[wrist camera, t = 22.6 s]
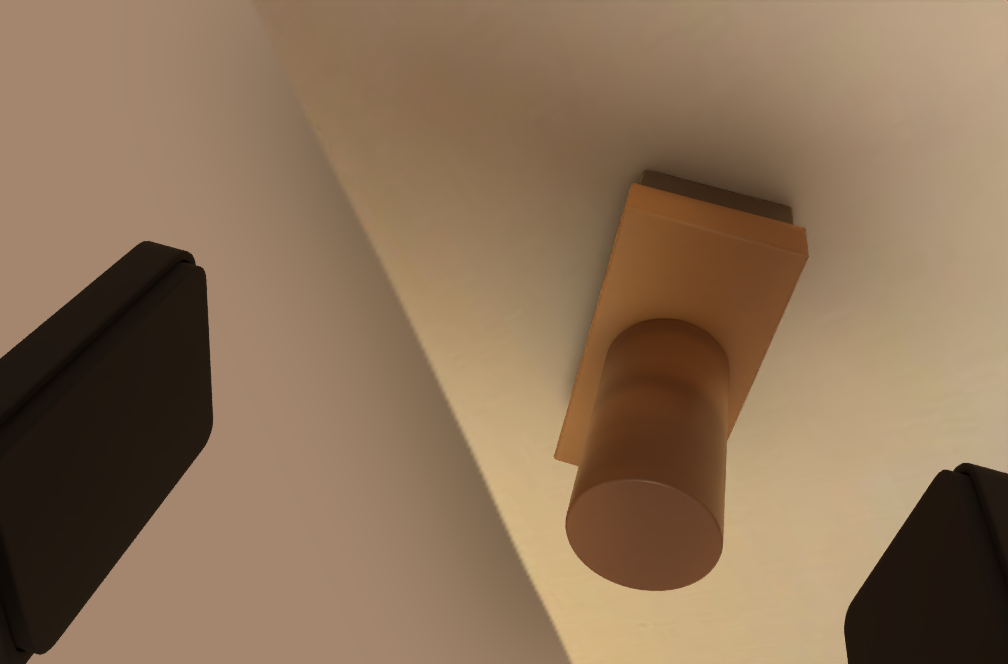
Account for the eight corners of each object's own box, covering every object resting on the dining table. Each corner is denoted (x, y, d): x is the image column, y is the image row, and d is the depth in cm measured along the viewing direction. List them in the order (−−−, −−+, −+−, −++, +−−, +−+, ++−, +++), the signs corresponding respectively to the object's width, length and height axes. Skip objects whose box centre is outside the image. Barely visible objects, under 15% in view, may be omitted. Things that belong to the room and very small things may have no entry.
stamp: (570, 398, 27) (504, 627, 20) (638, 158, 22) (583, 346, 15) (705, 437, 27) (687, 686, 20) (803, 201, 22) (829, 416, 15)
